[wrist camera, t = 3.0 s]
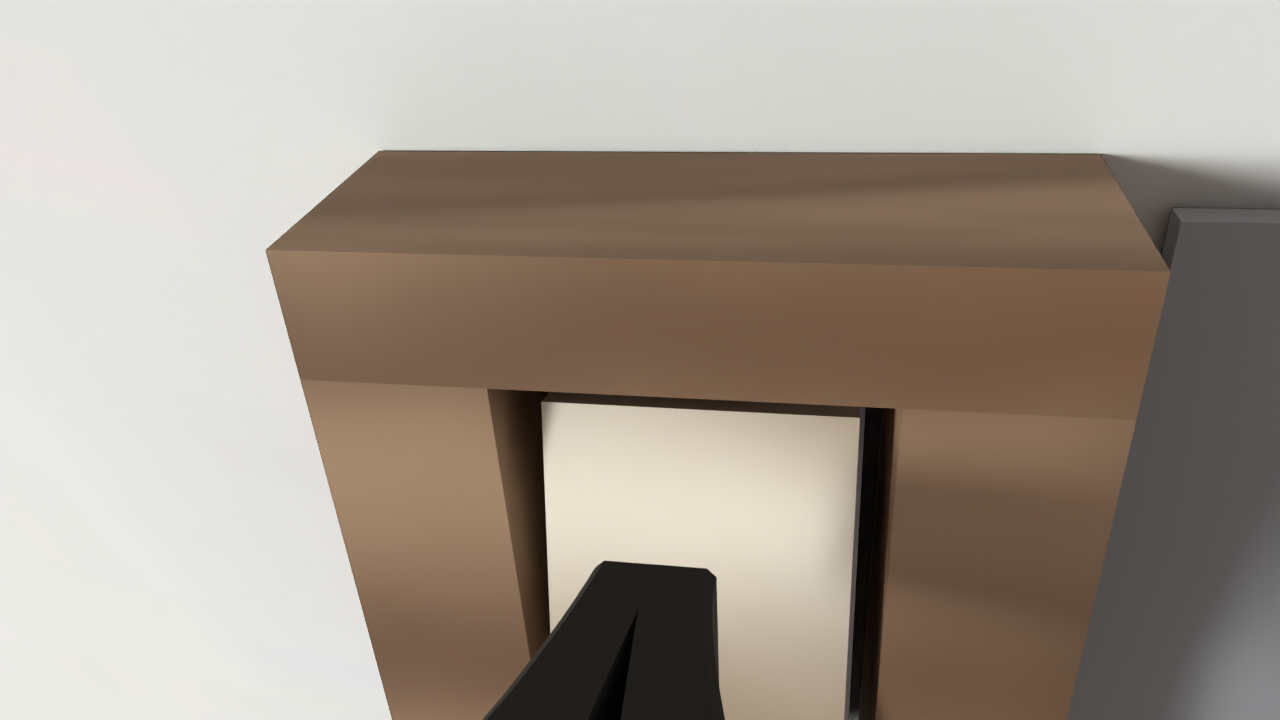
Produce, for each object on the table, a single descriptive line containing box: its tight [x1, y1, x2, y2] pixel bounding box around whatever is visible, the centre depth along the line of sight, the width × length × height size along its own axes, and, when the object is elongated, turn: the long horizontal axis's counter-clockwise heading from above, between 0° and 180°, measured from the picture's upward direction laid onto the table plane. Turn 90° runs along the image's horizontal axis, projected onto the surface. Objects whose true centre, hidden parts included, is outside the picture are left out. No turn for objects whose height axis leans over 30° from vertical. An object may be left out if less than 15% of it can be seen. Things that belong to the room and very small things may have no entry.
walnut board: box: [265, 151, 1171, 720], centre depth 18 cm, size 15×11×4 cm
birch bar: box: [541, 392, 860, 720], centre depth 16 cm, size 9×4×2 cm, turn 4°
